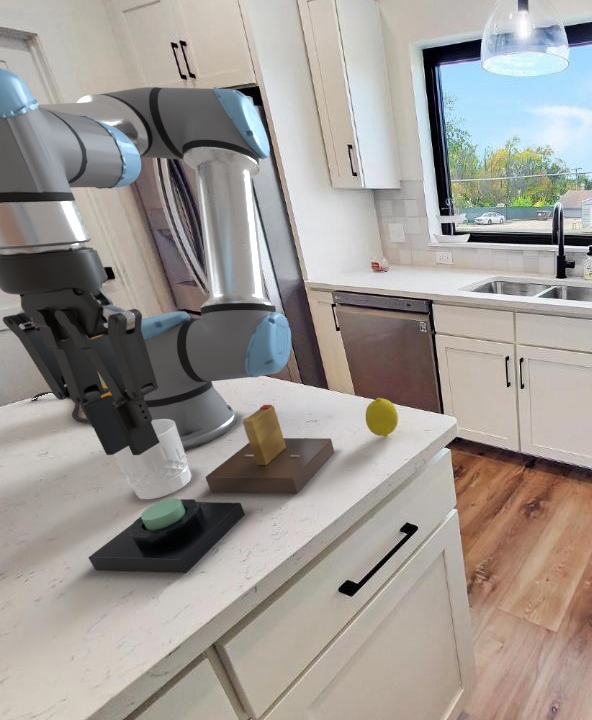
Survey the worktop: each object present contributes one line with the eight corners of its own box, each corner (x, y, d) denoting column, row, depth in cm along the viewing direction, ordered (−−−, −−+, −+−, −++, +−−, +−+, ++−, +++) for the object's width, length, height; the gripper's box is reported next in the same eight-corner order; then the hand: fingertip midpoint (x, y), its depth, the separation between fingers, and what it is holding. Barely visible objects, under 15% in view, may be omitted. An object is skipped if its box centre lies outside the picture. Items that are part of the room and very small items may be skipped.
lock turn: (266, 465, 66) (251, 419, 63) (256, 465, 66) (241, 419, 63) (286, 447, 70) (273, 404, 67) (277, 447, 71) (264, 404, 67)
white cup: (158, 472, 70) (135, 420, 66) (207, 469, 71) (187, 417, 67) (118, 504, 63) (89, 448, 59) (173, 500, 63) (148, 444, 60)
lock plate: (211, 492, 65) (204, 476, 63) (259, 452, 75) (254, 437, 74) (297, 494, 64) (292, 477, 63) (334, 452, 74) (330, 437, 73)
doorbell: (95, 570, 51) (81, 546, 50) (167, 513, 61) (157, 490, 59) (186, 573, 51) (175, 548, 49) (245, 514, 60) (237, 492, 58)
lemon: (391, 445, 75) (383, 406, 73) (363, 443, 77) (355, 404, 74) (406, 429, 80) (399, 392, 78) (380, 427, 82) (373, 390, 79)
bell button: (137, 530, 53) (131, 519, 52) (165, 508, 56) (160, 498, 56) (167, 531, 52) (161, 520, 52) (193, 508, 56) (189, 498, 55)
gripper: (150, 242, 45) (219, 432, 53) (16, 246, 46) (105, 431, 54) (72, 251, 38) (167, 468, 46) (-84, 255, 39) (37, 466, 47)
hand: (133, 448), depth 50 cm, fingers open, 3 cm apart
